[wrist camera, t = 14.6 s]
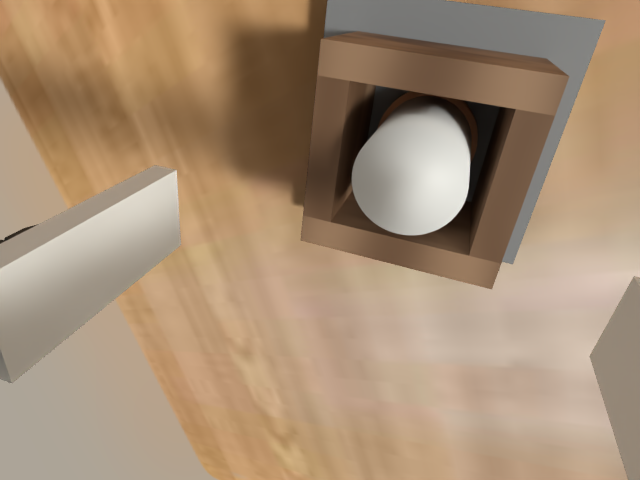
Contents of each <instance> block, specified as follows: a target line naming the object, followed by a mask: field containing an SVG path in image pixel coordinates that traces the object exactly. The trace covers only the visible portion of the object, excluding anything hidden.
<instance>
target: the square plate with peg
mask: <svg viewBox="0 0 640 480" xmlns="http://www.w3.org/2000/svg"><path fill="white" fill-rule="evenodd" d="M605 21H606V20H598V19H590V18H582V17H573V16H565V15H557V14H549V13H541V12H533V11H525V10H517V9H509V8H501V7H493V6H485V5H477V4H469V3H461V2H453V1H445V0H328V1H327V11H326V21H325V30H324V38H327V37H332V36H337V35H342V34H347V33H352V32H357V31H361V32H368V33H375V34H381V35H388V36H395V37H402V38H409V39H416V40H423V41H430V42H436V43H443V44H450V45H457V46H464V47H471V48H478V49H485V50H492V51H498V52H505V53H512V54H519V55H526V56H533V57H540V58H547V59H548V60H549V61H550V62H552V63H553V64H554V65H556V66H557V67H558V68H559V69H561V70H562V71H563V72H565V73H566V74H567V75H568V76H570V77H569V79H568V82H567V85H566V88H565V90H564V93H563V96H562V98H561V101H560V104H559V107H558V109H557V112H556V115H555V118H554V120H553V123H552V126H551V129H550V131H549V134H548V137H547V139H546V142H545V145H544V148H543V150H542V153H541V156H540V159H539V161H538V164H537V167H536V170H535V172H534V175H533V178H532V180H531V183H530V186H529V189H528V191H527V194H526V197H525V200H524V202H523V205H522V208H521V211H520V213H519V216H518V219H517V222H516V224H515V227H514V230H513V232H512V235H511V238H510V241H509V243H508V246H507V249H506V252H505V254H504V257H503V260H502V262H506V263H510V264H513V262H514V260H515V257H516V254H517V252H518V249H519V246H520V244H521V241H522V239H523V236H524V233H525V231H526V228H527V225H528V223H529V220H530V218H531V215H532V212H533V210H534V207H535V204H536V202H537V199H538V197H539V194H540V191H541V189H542V186H543V183H544V181H545V178H546V176H547V173H548V170H549V168H550V165H551V162H552V160H553V157H554V155H555V152H556V149H557V147H558V144H559V141H560V139H561V136H562V134H563V131H564V128H565V126H566V123H567V120H568V118H569V115H570V113H571V110H572V107H573V105H574V102H575V99H576V97H577V94H578V92H579V89H580V86H581V84H582V81H583V78H584V76H585V73H586V71H587V68H588V65H589V63H590V60H591V57H592V55H593V52H594V50H595V47H596V44H597V42H598V39H599V36H600V34H601V31H602V29H603V26H604V23H605ZM499 109H500V106H495V105H489V104H483V103H477V102H471V101H465V100H460V99H454V98H448V97H442V96H436V95H430V94H424V93H419V92H413V91H407V90H401V89H395V88H389V87H383V86H377V85H376V90H375V96H374V102H373V108H372V114H371V120H370V127H369V133H368V139H367V142H366V143H365V145H364V146H363V147H362V149H361V150H360V152H359V153H358V155H357V157H356V160H355V162H354V166H353V170H352V188H353V193H354V196H355V199H356V201H357V203H358V205H359V207H360V208H361V210H362V211H363V212H364V214H365V215H366V216H367V217H368V218H369V219H370V220H371V221H372V222H374V223H375V224H376V225H378V226H380V227H381V228H383V229H385V230H387V231H390V232H393V233H396V234H401V235H421V234H427V233H430V232H433V231H435V230H438V229H440V228H441V227H443V226H445V225H446V224H448V223H449V222H450V221H451V220H452V219H453V218H454V217H455V216H456V215H457V214H458V213H459V211H460V210H461V208H462V206H463V204H464V203H465V201H468V202H471V201H472V198H473V195H474V192H475V188H476V185H477V182H478V178H479V175H480V172H481V168H482V165H483V162H484V158H485V155H486V152H487V149H488V145H489V142H490V139H491V135H492V132H493V129H494V125H495V122H496V119H497V116H498V112H499Z"/></svg>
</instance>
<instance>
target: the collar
mask: <svg viewBox="0 0 640 480" xmlns="http://www.w3.org/2000/svg"><path fill="white" fill-rule="evenodd" d="M569 77H570V76H568V75H567V74H566V73H565V72H563V71H562V70H561V69H559V68H558V67H557V66H556V65H554V64H553V63H552V62H550V61H549V60H548V59H547V58H540V57H533V56H526V55H519V54H512V53H505V52H498V51H492V50H485V49H478V48H471V47H464V46H457V45H450V44H443V43H436V42H430V41H423V40H416V39H409V38H402V37H395V36H388V35H381V34H375V33H368V32H361V31H357V32H352V33H347V34H342V35H337V36H332V37H327V38H322V39H321V43H320V53H319V63H318V73H317V83H316V93H315V102H314V112H313V122H312V132H311V142H310V152H309V162H308V172H307V181H306V191H305V201H304V211H303V221H302V231H301V241H305V242H309V243H313V244H317V245H321V246H325V247H329V248H332V249H336V250H340V251H344V252H348V253H352V254H356V255H360V256H364V257H368V258H372V259H375V260H379V261H383V262H387V263H391V264H395V265H399V266H403V267H407V268H411V269H414V270H418V271H422V272H426V273H430V274H434V275H438V276H442V277H446V278H450V279H454V280H457V281H461V282H465V283H469V284H473V285H477V286H481V287H485V288H489V289H492V287H493V284H494V282H495V279H496V276H497V273H498V271H499V268H500V265H501V263H502V260H503V257H504V254H505V252H506V249H507V246H508V243H509V241H510V238H511V235H512V232H513V230H514V227H515V224H516V222H517V219H518V216H519V213H520V211H521V208H522V205H523V202H524V200H525V197H526V194H527V191H528V189H529V186H530V183H531V180H532V178H533V175H534V172H535V170H536V167H537V164H538V161H539V159H540V156H541V153H542V150H543V148H544V145H545V142H546V139H547V137H548V134H549V131H550V129H551V126H552V123H553V120H554V118H555V115H556V112H557V109H558V107H559V104H560V101H561V98H562V96H563V93H564V90H565V88H566V85H567V82H568V79H569ZM376 85H377V86H383V87H389V88H395V89H401V90H407V91H413V92H419V93H424V94H430V95H436V96H442V97H448V98H454V99H460V100H465V101H471V102H477V103H483V104H489V105H495V106H500V109H499V112H498V116H497V119H496V122H495V125H494V129H493V132H492V135H491V139H490V142H489V145H488V149H487V152H486V155H485V158H484V162H483V165H482V168H481V172H480V175H479V178H478V182H477V185H476V188H475V192H474V195H473V198H472V201H471V202H468V201H465V203H464V204H463V206H462V208H461V210H460V211H459V213H458V214H457V215H456V216H455V217H454V218H453V219H452V220H451V221H450V222H449V223H448V224H446V225H445V226H443V227H441V228H440V229H438V230H435V231H433V232H430V233H427V234H421V235H401V234H396V233H393V232H390V231H387V230H385V229H383V228H381V227H380V226H378V225H376V224H375V223H374V222H372V221H371V220H370V219H369V218H368V217H367V216H366V215H365V214H364V212H363V211H362V210H361V208H360V207H359V205H358V203H357V201H356V199H355V196H354V193H353V188H352V170H353V166H354V162H355V160H356V157H357V155H358V153H359V152H360V150H361V149H362V147H363V146H364V145H365V143H366V142H367V139H368V133H369V127H370V120H371V114H372V108H373V102H374V96H375V90H376Z"/></svg>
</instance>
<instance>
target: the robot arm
mask: <svg viewBox="0 0 640 480" xmlns="http://www.w3.org/2000/svg"><path fill="white" fill-rule="evenodd" d="M180 245H181V239H180V221H179V204H178V186H177V170H175V169H170V168H166V167H162V166H157V165H154V166H152V167H150V168H148V169H147V170H145V171H143V172H141V173H139V174H137V175H135V176H133V177H131V178H129V179H127V180H125V181H123V182H121V183H119V184H117V185H115V186H113V187H111V188H109V189H107V190H105V191H103V192H101V193H99V194H97V195H95V196H93V197H91V198H89V199H87V200H85V201H84V202H82V203H80V204H78V205H76V206H74V207H72V208H70V209H68V210H66V211H64V212H62V213H60V214H58V215H56V216H54V217H52V218H50V219H48V220H46V221H44V222H42V223H40V224H38V225H34V226H31V227H27V228H24V229H22V230H20V231H18V232H16V233H14V234H12V235H10V236H8V237H6V238H5V240H0V379H2V380H4V381H7V382H10V383H13V382H14V381H16V380H17V379H18V378H19V377H20V376H22V375H23V374H24V373H25V372H27V371H28V370H29V369H30V368H31V367H33V366H34V365H35V364H36V363H37V362H39V361H40V360H41V359H42V358H43V357H45V356H46V355H47V354H48V353H50V352H51V351H52V350H53V349H55V348H56V347H57V346H58V345H59V344H61V343H62V342H63V341H64V340H66V339H67V338H68V337H69V336H70V335H72V334H73V333H74V332H75V331H77V330H78V329H79V328H80V327H81V326H83V325H84V324H85V323H86V322H88V321H89V320H90V319H91V318H92V317H94V316H95V315H96V314H97V313H98V312H100V311H101V310H102V309H103V308H105V307H106V306H107V305H108V304H109V303H111V302H112V301H113V300H114V299H116V298H117V297H118V296H119V295H120V294H122V293H123V292H124V291H125V290H127V289H128V288H129V287H130V286H131V285H133V284H134V283H135V282H136V281H138V280H139V279H140V278H141V277H142V276H144V275H145V274H146V273H147V272H149V271H150V270H151V269H152V268H153V267H155V266H156V265H157V264H158V263H159V262H161V261H162V260H163V259H164V258H166V257H167V256H168V255H169V254H170V253H172V252H173V251H174V250H175V249H177V248H178V247H179V246H180ZM590 359H591V362H592V365H593V368H594V371H595V375H596V378H597V381H598V384H599V388H600V391H601V394H602V397H603V400H604V404H605V407H606V410H607V413H608V416H609V420H610V423H611V426H612V429H613V432H614V436H615V439H616V442H617V445H618V448H619V452H620V455H621V458H622V461H623V464H624V468H625V471H626V474H627V477H628V480H640V278H639V277H635V276H634V277H633V279H632V281H631V283H630V284H629V286H628V288H627V290H626V292H625V293H624V295H623V297H622V299H621V301H620V302H619V304H618V306H617V308H616V310H615V311H614V313H613V315H612V317H611V319H610V320H609V322H608V324H607V326H606V328H605V329H604V331H603V333H602V335H601V337H600V338H599V340H598V342H597V344H596V346H595V347H594V349H593V351H592V353H591V355H590Z"/></svg>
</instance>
